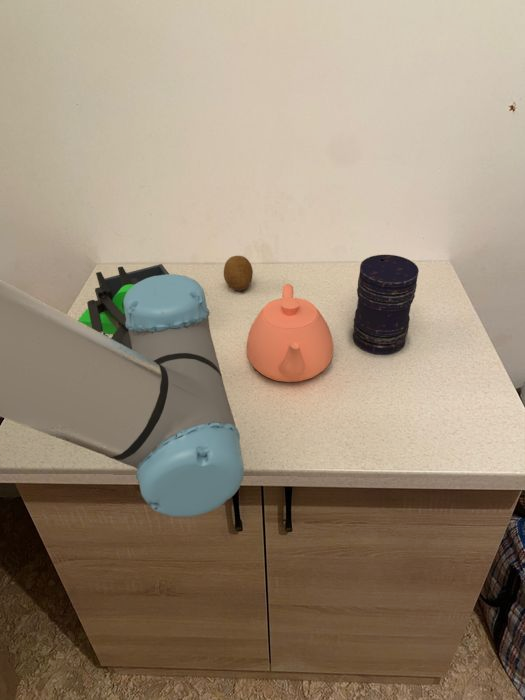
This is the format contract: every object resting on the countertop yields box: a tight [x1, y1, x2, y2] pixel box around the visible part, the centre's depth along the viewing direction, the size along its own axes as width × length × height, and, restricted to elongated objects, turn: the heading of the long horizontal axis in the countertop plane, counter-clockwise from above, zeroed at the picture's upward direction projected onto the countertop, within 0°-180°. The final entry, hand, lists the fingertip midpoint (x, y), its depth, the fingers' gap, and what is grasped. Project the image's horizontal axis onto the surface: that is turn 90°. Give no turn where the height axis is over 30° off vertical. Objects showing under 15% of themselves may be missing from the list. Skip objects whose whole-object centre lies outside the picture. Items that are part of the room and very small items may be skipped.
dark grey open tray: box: [104, 263, 170, 298], centre depth 101 cm, size 14×20×5 cm
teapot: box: [246, 283, 334, 383], centre depth 85 cm, size 22×15×12 cm
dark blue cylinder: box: [352, 254, 420, 356], centre depth 89 cm, size 10×10×15 cm
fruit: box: [223, 255, 254, 291], centre depth 106 cm, size 6×6×8 cm
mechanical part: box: [77, 284, 134, 336], centre depth 76 cm, size 12×6×8 cm, turn 80°
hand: (111, 277), depth 78 cm, fingers open, 3 cm apart
